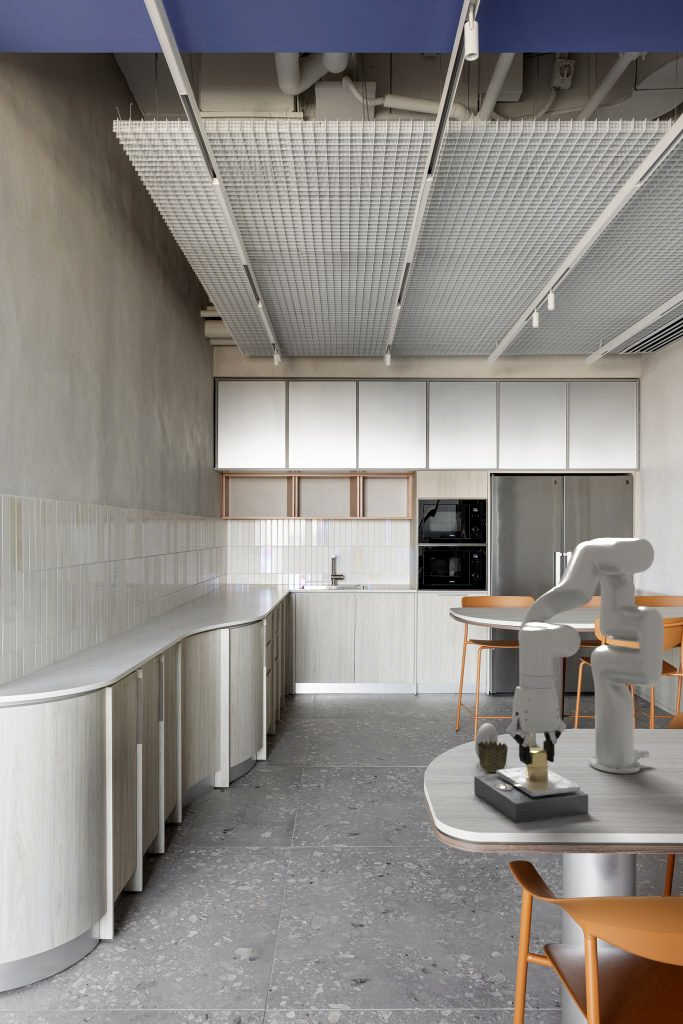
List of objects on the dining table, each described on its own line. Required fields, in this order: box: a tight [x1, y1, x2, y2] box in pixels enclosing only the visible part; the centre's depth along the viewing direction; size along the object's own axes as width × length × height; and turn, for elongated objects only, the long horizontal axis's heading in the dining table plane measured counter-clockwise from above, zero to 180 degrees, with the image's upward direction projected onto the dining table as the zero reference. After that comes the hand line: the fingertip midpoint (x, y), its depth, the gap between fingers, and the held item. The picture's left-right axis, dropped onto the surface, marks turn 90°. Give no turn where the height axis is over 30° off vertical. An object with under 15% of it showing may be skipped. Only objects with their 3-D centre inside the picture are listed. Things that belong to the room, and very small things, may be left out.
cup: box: [478, 741, 509, 775], centre depth 177 cm, size 8×7×8 cm
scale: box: [473, 774, 589, 824], centre depth 160 cm, size 18×18×4 cm
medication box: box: [528, 733, 537, 748], centre depth 201 cm, size 12×3×4 cm, turn 156°
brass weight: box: [525, 747, 549, 781], centre depth 160 cm, size 5×5×6 cm
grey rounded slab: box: [474, 722, 498, 759], centre depth 190 cm, size 10×3×10 cm, turn 146°
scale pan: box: [496, 766, 581, 797], centre depth 160 cm, size 12×15×1 cm
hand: (536, 760), depth 160 cm, fingers open, 5 cm apart
